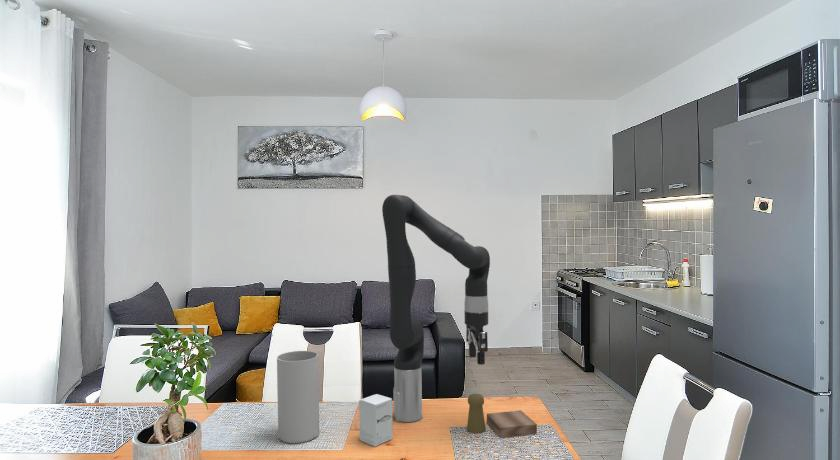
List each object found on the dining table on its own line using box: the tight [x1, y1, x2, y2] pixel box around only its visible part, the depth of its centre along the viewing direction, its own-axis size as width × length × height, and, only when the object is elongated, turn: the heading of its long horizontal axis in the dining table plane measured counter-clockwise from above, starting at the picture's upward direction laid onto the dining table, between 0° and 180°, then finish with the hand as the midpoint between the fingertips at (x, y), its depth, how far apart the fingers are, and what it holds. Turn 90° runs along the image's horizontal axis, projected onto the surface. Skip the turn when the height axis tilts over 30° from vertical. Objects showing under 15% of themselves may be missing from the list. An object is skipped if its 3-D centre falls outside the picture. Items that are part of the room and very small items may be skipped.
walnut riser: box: [486, 410, 538, 439], centre depth 163 cm, size 12×12×3 cm
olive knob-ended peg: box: [466, 393, 487, 434], centre depth 162 cm, size 6×6×11 cm
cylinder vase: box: [276, 350, 320, 444], centre depth 159 cm, size 12×12×25 cm
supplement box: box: [358, 393, 393, 448], centre depth 155 cm, size 7×7×13 cm
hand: (476, 360), depth 162 cm, fingers open, 8 cm apart
